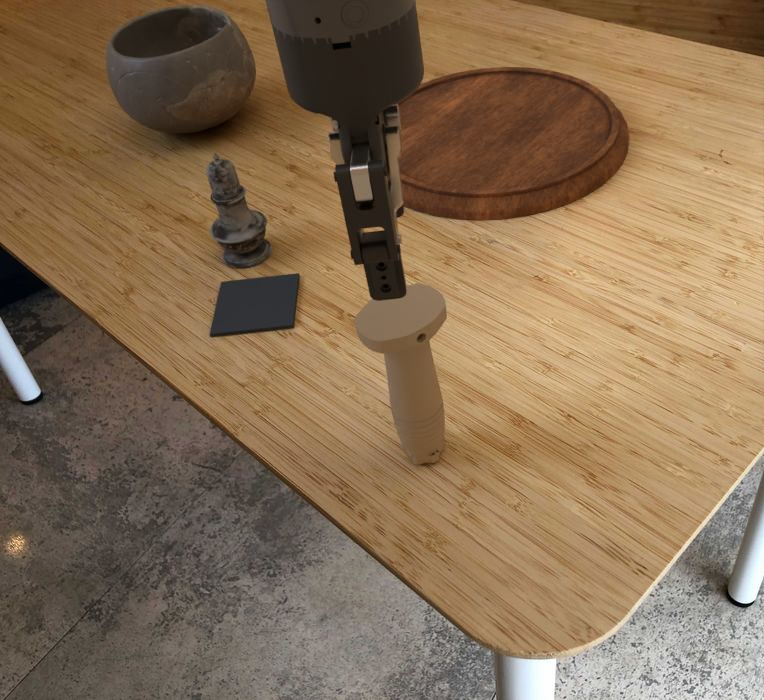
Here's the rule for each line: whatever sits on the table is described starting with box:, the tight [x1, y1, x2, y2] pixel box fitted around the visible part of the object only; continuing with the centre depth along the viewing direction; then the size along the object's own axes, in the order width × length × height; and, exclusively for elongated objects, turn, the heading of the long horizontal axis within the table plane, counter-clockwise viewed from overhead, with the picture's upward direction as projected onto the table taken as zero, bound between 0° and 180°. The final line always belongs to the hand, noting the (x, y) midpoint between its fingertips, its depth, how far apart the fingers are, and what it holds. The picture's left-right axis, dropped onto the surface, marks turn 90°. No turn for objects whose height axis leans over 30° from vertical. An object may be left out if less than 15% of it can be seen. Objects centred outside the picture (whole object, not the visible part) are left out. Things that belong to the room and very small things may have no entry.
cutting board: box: [398, 66, 630, 221], centre depth 101 cm, size 32×32×2 cm
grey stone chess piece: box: [205, 152, 273, 269], centre depth 86 cm, size 6×6×12 cm
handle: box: [353, 282, 448, 466], centre depth 63 cm, size 5×6×15 cm
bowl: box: [105, 4, 257, 134], centre depth 108 cm, size 18×18×13 cm
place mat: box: [209, 272, 301, 338], centre depth 83 cm, size 8×8×1 cm
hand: (389, 253), depth 55 cm, fingers open, 8 cm apart
